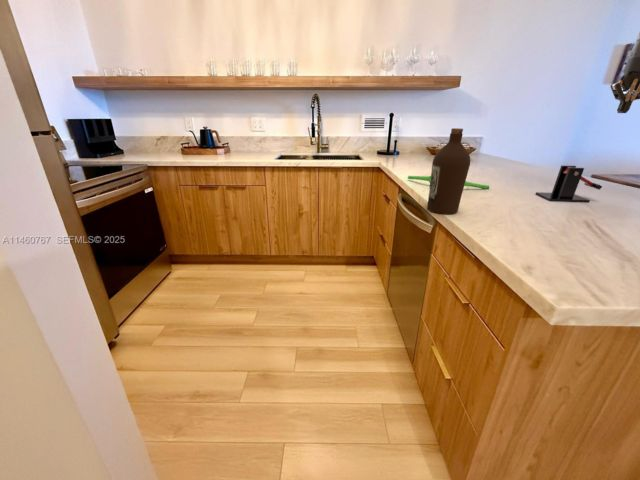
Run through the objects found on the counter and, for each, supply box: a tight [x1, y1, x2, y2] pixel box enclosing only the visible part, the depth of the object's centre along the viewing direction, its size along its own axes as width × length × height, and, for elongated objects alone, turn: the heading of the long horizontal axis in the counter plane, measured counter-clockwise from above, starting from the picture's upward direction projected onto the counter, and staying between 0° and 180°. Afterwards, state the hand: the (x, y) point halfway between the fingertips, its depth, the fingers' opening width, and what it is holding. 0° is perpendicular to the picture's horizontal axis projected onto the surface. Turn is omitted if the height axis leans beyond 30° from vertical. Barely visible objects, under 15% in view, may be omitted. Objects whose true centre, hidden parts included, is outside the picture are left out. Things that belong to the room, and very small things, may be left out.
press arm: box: [563, 167, 603, 190], centre depth 102 cm, size 12×6×2 cm, turn 83°
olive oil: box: [426, 127, 471, 215], centre depth 89 cm, size 11×11×25 cm
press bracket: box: [534, 165, 591, 204], centre depth 103 cm, size 13×9×12 cm
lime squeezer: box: [407, 175, 490, 190], centre depth 121 cm, size 34×12×6 cm, turn 59°
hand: (621, 113), depth 102 cm, fingers closed
